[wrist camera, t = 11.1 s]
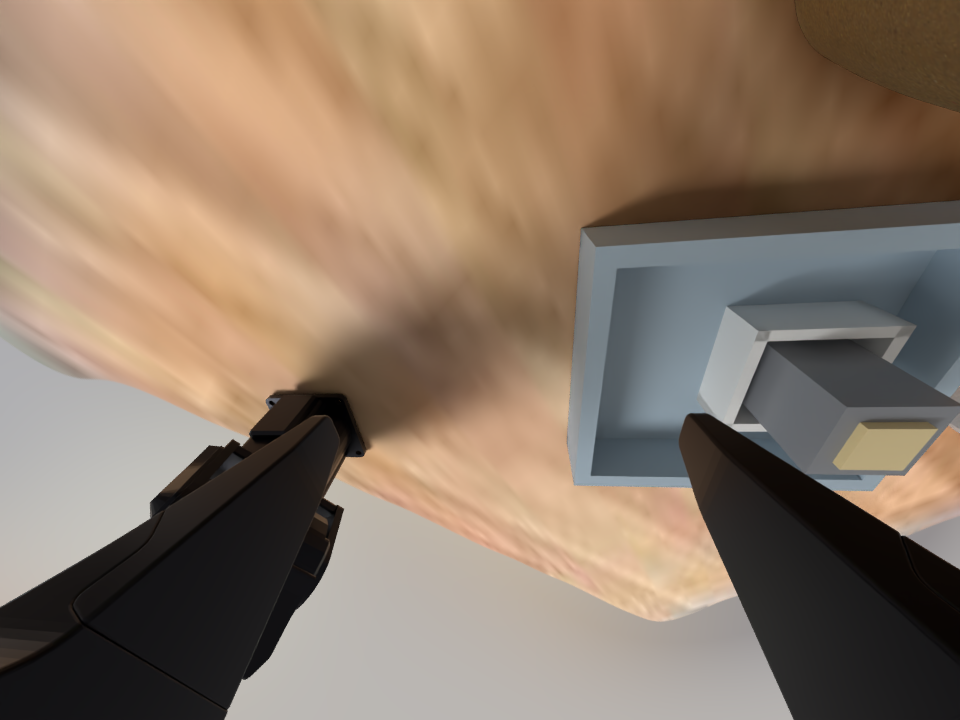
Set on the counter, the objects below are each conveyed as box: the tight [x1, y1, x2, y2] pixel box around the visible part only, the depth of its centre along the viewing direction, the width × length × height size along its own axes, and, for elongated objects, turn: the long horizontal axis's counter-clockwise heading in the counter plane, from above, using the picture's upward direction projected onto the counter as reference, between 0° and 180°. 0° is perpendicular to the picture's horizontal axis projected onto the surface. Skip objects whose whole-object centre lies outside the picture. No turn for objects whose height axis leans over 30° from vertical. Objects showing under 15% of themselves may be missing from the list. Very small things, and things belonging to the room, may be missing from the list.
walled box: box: [567, 200, 960, 491], centre depth 19 cm, size 16×18×4 cm
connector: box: [742, 339, 960, 476], centre depth 17 cm, size 4×4×7 cm
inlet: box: [696, 301, 917, 432], centre depth 19 cm, size 7×7×3 cm
